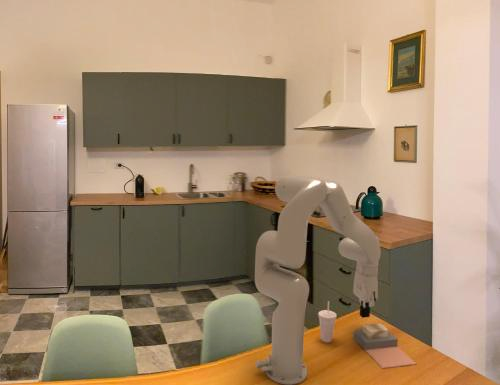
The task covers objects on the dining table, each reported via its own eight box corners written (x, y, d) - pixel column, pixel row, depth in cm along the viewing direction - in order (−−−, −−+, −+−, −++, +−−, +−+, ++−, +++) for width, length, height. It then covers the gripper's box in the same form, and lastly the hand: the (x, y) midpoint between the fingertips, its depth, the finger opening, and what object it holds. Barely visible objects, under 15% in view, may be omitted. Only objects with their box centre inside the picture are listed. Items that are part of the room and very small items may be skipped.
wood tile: (369, 338, 134) (370, 332, 134) (362, 331, 139) (362, 325, 138) (387, 337, 136) (388, 330, 135) (380, 330, 140) (380, 323, 140)
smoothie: (338, 338, 140) (340, 301, 138) (331, 346, 134) (333, 307, 133) (321, 333, 143) (322, 297, 141) (314, 340, 138) (315, 303, 136)
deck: (365, 350, 132) (365, 342, 132) (353, 338, 140) (353, 330, 140) (397, 347, 135) (397, 339, 134) (383, 335, 143) (384, 327, 142)
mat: (382, 368, 122) (382, 367, 122) (365, 350, 132) (365, 349, 132) (416, 364, 124) (416, 363, 124) (397, 347, 135) (397, 346, 135)
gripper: (348, 262, 148) (346, 308, 151) (368, 277, 134) (365, 327, 137) (366, 261, 150) (363, 306, 153) (387, 275, 136) (384, 324, 138)
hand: (364, 316), depth 145 cm, fingers closed
